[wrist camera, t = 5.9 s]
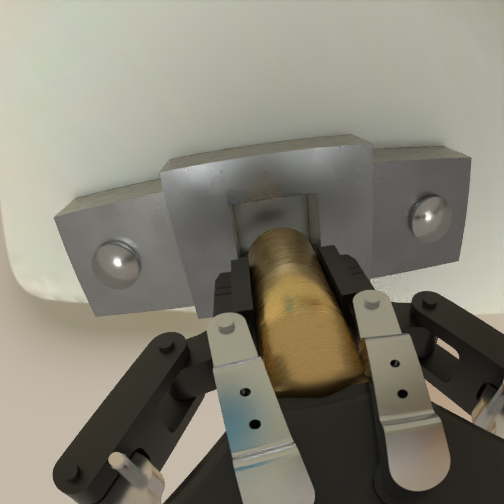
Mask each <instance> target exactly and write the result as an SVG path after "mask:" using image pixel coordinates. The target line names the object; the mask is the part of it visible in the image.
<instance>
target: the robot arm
mask: <svg viewBox="0 0 504 504" xmlns="http://www.w3.org/2000/svg"><path fill="white" fill-rule="evenodd" d="M317 259H318V261H319V263H320V265H321V267H322V269H323V272H324V274H325V276H326V278H327V280H328V282H329V285H330V287H331V289H332V291H333V294H334V296H335V298H336V300H337V302H338V305H339V307H340V309H341V311H342V314H343V316H344V318H345V321H346V323H347V325H348V328H349V330H350V332H351V335H352V337H353V339H354V342H355V344H356V346H357V349H358V351H359V354H360V358H361V361H362V365H363V369H364V373H365V374H367V377H368V382H363V383H359V384H355V385H352V386H349V387H347V388H345V389H343V390H341V391H339V392H336V393H334V394H332V395H330V396H327V397H325V398H292V397H288V398H281V399H277V398H276V395H275V393H274V390H273V388H272V385H271V382H270V380H269V377H268V374H267V372H266V369H265V366H264V363H263V361H262V358H261V356H258V354H257V344H256V334H255V326H256V323H255V313H254V304H253V295H252V285H251V276H250V267H249V261H248V258H241V259H234V260H231V272H225V273H220V274H219V276H218V277H217V279H216V280H215V290H214V307H213V318H212V319H211V320H210V321H209V322H208V324H207V327H206V328H207V330H206V331H205V332H203V333H201V334H199V335H197V336H194V337H192V338H189V339H185V337H184V336H183V335H181V334H179V333H176V332H167V333H163V334H161V335H158V336H157V337H155V338H154V339H153V340H152V341H151V342H150V343H149V344H148V346H147V347H146V348H145V350H144V351H143V352H142V353H141V355H140V356H139V357H138V358H137V359H136V361H135V362H134V363H133V364H132V366H131V367H130V368H129V370H128V371H127V372H126V373H125V375H124V376H123V377H122V378H121V380H120V381H119V382H118V384H117V385H116V386H115V387H114V389H113V390H112V391H111V392H110V394H109V395H108V396H107V397H106V399H105V400H104V401H103V403H102V404H101V405H100V406H99V408H98V409H97V410H96V412H95V413H94V414H93V416H92V417H91V418H90V419H89V421H88V422H87V423H86V425H85V426H84V427H83V428H82V430H81V431H80V432H79V434H78V435H77V436H76V438H75V439H74V440H73V441H72V443H71V444H70V445H69V447H68V448H67V449H66V451H65V452H64V453H63V455H62V456H61V457H60V459H59V460H58V461H57V463H56V464H55V466H54V469H53V481H54V483H55V485H56V486H57V488H58V489H59V490H61V491H62V492H63V493H65V494H67V495H68V496H69V497H71V498H72V499H73V500H74V501H75V502H77V503H78V504H161V496H162V493H163V491H164V487H165V482H164V478H163V476H162V474H161V473H160V471H161V469H162V468H163V466H164V464H165V463H166V461H167V459H168V458H169V456H170V454H171V452H172V451H173V449H174V448H175V446H176V444H177V443H178V441H179V439H180V437H181V436H182V434H183V432H184V431H185V429H186V427H187V426H188V424H189V422H190V421H191V419H192V417H193V416H194V414H195V412H196V410H197V409H198V407H199V405H200V403H201V402H202V400H203V398H204V396H205V393H207V392H210V391H213V390H215V389H217V392H218V397H219V401H220V406H221V411H222V415H223V419H224V424H225V428H226V432H225V433H224V434H223V435H222V437H221V438H220V439H219V440H218V441H217V443H216V444H215V445H214V446H213V448H212V449H211V450H210V451H209V452H208V454H207V455H206V456H205V457H204V458H203V460H202V461H201V462H200V463H199V464H198V465H197V467H196V468H195V469H194V470H193V471H192V472H191V473H190V474H189V476H188V477H187V478H186V479H185V480H184V481H183V482H182V483H181V485H180V486H179V487H178V488H177V489H176V490H175V491H174V492H173V493H172V494H171V496H170V497H169V498H168V499H167V500H166V501H165V502H164V503H163V504H504V334H502V333H501V332H499V331H498V330H496V329H494V328H493V327H492V326H490V325H488V324H487V323H485V322H484V321H482V320H480V319H479V318H477V317H476V316H474V315H472V314H471V313H469V312H468V311H466V310H464V309H463V308H461V307H459V306H458V305H456V304H455V303H453V302H451V301H450V300H448V299H446V298H445V297H443V296H441V295H440V294H438V293H435V292H431V291H423V292H419V293H417V294H415V295H414V296H413V298H412V303H395V302H391V301H390V298H389V297H388V296H387V295H386V294H385V293H383V292H380V291H377V290H375V289H374V287H373V286H372V284H371V283H370V281H369V279H368V278H367V276H366V275H365V273H364V271H363V270H362V268H360V265H359V264H358V262H357V261H356V259H354V258H353V257H351V256H350V255H348V254H345V255H340V254H339V252H338V250H337V249H336V247H335V245H329V246H322V247H317ZM438 338H440V339H441V340H443V341H444V342H445V343H447V344H448V345H450V346H451V347H453V348H454V349H455V350H456V351H457V352H458V354H459V359H457V358H456V357H454V356H453V355H452V354H450V353H449V352H448V351H446V350H445V349H443V348H442V347H440V346H439V345H438V344H436V343H437V340H438ZM425 379H426V380H427V381H428V382H429V383H431V384H432V385H433V386H434V387H436V388H437V389H438V390H439V391H441V392H442V393H443V394H444V395H446V396H447V397H448V398H449V399H451V400H452V401H453V402H454V403H456V404H457V405H458V406H459V407H461V408H462V409H463V410H464V411H466V412H467V413H468V414H469V415H471V417H472V422H473V423H471V422H469V421H468V420H466V419H464V418H462V417H460V416H458V415H456V414H454V413H452V412H450V411H448V410H447V409H445V408H443V407H441V406H439V405H437V404H435V403H434V402H432V401H431V400H430V397H429V393H428V389H427V386H426V383H425Z"/></svg>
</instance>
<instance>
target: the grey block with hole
mask: <svg viewBox="0 0 504 504" xmlns="http://www.w3.org/2000/svg"><path fill="white" fill-rule="evenodd" d="M470 171H471V157H469V156H466V155H464V154H462V153H459V152H457V151H454V150H452V149H450V148H447V147H445V146H438V147H408V148H388V149H372V143H370V142H367V141H365V140H363V139H361V138H359V137H356V136H354V135H339V136H327V137H316V138H306V139H297V140H288V141H280V142H272V143H264V144H257V145H250V146H243V147H237V148H230V149H224V150H218V151H212V152H207V153H201V154H196V155H190V156H185V157H180V158H175V159H170V160H169V162H168V163H167V164H166V165H165V166H164V167H163V169H162V170H161V171H160V172H159V175H160V179H156V180H152V181H147V182H142V183H138V184H133V185H129V186H125V187H120V188H116V189H112V190H108V191H104V192H100V193H96V194H92V195H88V196H84V197H80V198H76V199H74V200H73V201H72V202H71V203H70V204H68V205H67V206H66V207H65V208H64V209H63V210H61V211H60V212H59V213H58V214H57V215H56V216H55V217H54V219H55V222H56V225H57V228H58V231H59V233H60V236H61V239H62V241H63V244H64V246H65V249H66V251H67V254H68V256H69V259H70V261H71V264H72V266H73V268H74V271H75V273H76V275H77V278H78V280H79V282H80V284H81V287H82V289H83V291H84V293H85V295H86V298H87V300H88V302H89V304H90V306H91V308H92V310H93V312H94V314H95V316H108V315H118V314H127V313H138V312H146V311H156V310H165V309H173V308H181V307H190V306H195V308H196V312H197V315H198V318H199V319H201V318H209V317H213V307H214V290H215V280H216V279H217V277H218V276H219V274H220V273H225V272H231V260H234V259H241V258H248V254H244V255H241V254H240V248H239V242H238V237H237V231H236V226H235V220H234V214H233V209H232V205H233V204H239V203H246V202H252V201H259V200H266V199H273V198H280V197H287V196H294V195H302V194H307V198H308V211H309V225H310V240H311V246H312V248H313V250H314V252H315V254H316V256H317V247H322V246H329V245H335V247H336V249H337V250H338V252H339V254H340V255H345V254H348V255H350V256H351V257H353V258H354V259H356V261H357V262H358V264H359V265H360V268H362V270H363V271H364V273H365V275H366V276H367V278H368V279H369V281H370V279H371V278H376V277H382V276H387V275H392V274H397V273H402V272H407V271H412V270H417V269H422V268H427V267H432V266H437V265H441V264H446V263H451V262H455V261H459V256H460V250H461V245H462V239H463V233H464V226H465V219H466V211H467V203H468V194H469V183H470Z"/></svg>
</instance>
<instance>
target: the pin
mask: <svg viewBox="0 0 504 504" xmlns="http://www.w3.org/2000/svg"><path fill="white" fill-rule="evenodd" d="M248 261H249V267H250V276H251V285H252V295H253V304H254V313H255V323H256V326H255V334H256V344H257V354H258V356H261V358H262V361H263V363H264V366H265V369H266V372H267V374H268V377H269V380H270V382H271V385H272V388H273V390H274V393H275V395H276V398H277V399H281V398H288V397H292V398H325V397H327V396H330V395H332V394H334V393H336V392H339V391H341V390H343V389H345V388H347V387H349V386H352V385H355V384H359V383H363V382H368V377H367V374H365V373H364V369H363V365H362V361H361V358H360V354H359V351H358V349H357V346H356V344H355V342H354V339H353V337H352V335H351V332H350V330H349V328H348V325H347V323H346V321H345V318H344V316H343V314H342V311H341V309H340V307H339V305H338V302H337V300H336V298H335V296H334V294H333V291H332V289H331V287H330V285H329V282H328V280H327V278H326V276H325V274H324V272H323V269H322V267H321V265H320V263H319V261H318V259H317V256H316V254H315V252H314V250H313V248H312V246H311V244H310V242H309V240H308V239H307V238H306V237H305V236H304V235H303V234H302V233H300V232H298V231H296V230H293V229H289V228H277V229H273V230H270V231H267V232H265V233H264V234H262V235H261V236H259V237H258V238H257V239H256V240H255V241H254V243H253V244H252V246H251V248H250V250H249V254H248Z"/></svg>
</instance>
